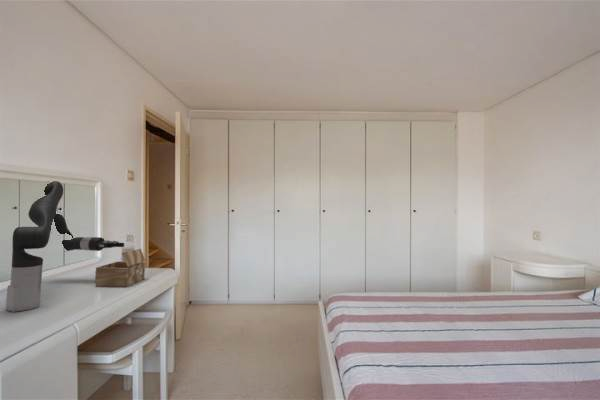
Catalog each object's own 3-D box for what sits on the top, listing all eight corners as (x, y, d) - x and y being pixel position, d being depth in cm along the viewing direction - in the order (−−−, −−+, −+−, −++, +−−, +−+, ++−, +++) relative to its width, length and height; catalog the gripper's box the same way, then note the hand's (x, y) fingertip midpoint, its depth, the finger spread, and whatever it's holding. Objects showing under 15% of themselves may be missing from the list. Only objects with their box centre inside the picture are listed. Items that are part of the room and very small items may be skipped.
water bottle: (128, 276, 173) (131, 235, 174) (117, 275, 173) (119, 235, 174) (135, 273, 180) (138, 234, 181) (124, 273, 180) (127, 234, 181)
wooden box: (125, 287, 148) (126, 268, 148) (93, 286, 147) (95, 267, 148) (145, 279, 166) (145, 262, 167) (116, 278, 166) (117, 261, 167)
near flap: (127, 266, 149) (128, 266, 149) (121, 253, 149) (122, 252, 149) (144, 261, 166) (145, 260, 166) (139, 249, 166) (140, 248, 166)
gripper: (84, 238, 151) (116, 239, 151) (101, 236, 164) (130, 237, 165) (83, 252, 151) (115, 253, 151) (100, 248, 164) (129, 249, 164)
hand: (123, 244), depth 158 cm, fingers closed
